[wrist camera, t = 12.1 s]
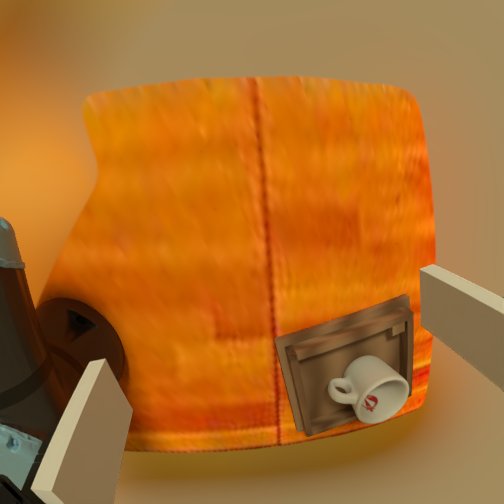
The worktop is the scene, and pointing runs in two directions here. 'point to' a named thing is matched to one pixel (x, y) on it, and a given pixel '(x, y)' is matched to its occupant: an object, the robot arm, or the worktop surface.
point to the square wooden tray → (342, 359)
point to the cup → (371, 389)
